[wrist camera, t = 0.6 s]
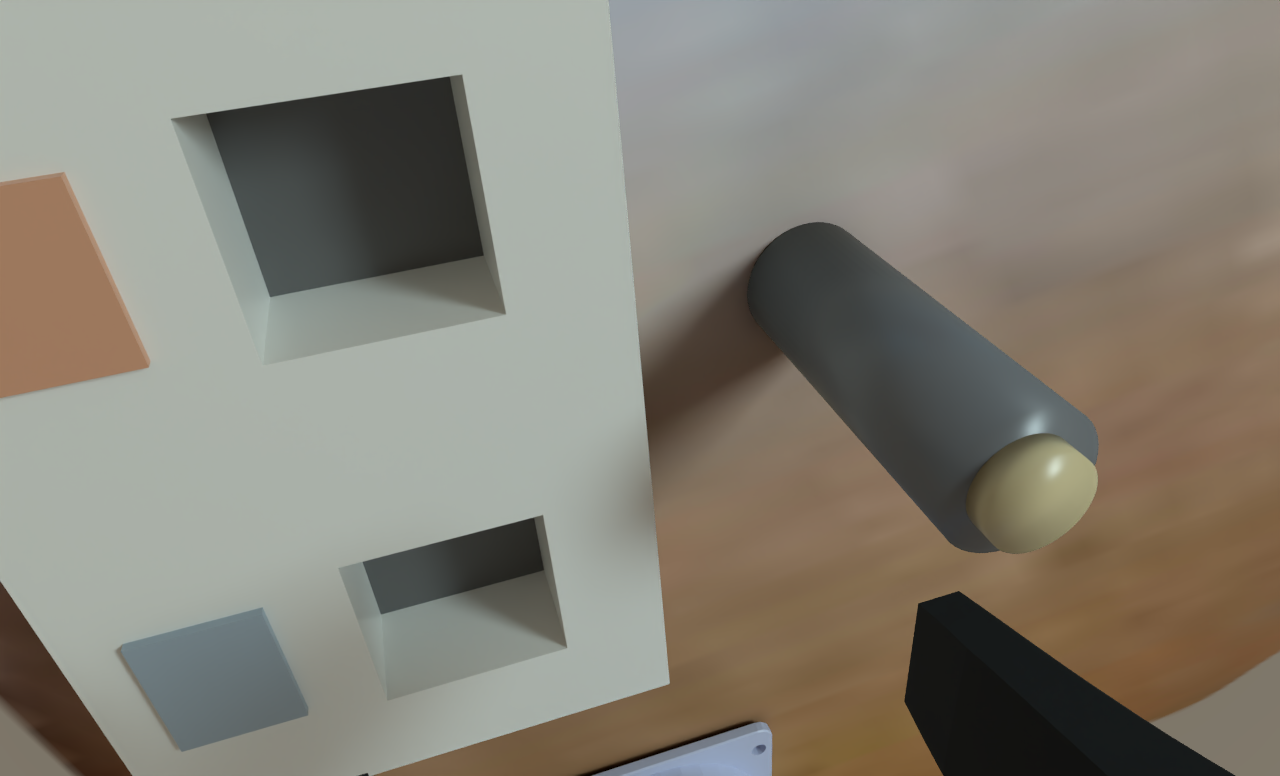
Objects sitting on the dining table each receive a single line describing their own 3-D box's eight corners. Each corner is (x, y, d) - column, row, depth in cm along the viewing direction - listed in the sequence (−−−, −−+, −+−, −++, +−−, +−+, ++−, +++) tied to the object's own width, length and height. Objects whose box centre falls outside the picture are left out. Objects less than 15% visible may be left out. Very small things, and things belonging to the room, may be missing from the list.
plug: (858, 323, 22) (1102, 549, 15) (747, 349, 22) (949, 596, 15) (866, 211, 21) (1144, 408, 14) (747, 235, 20) (973, 455, 13)
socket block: (635, 601, 25) (672, 689, 22) (189, 728, 23) (172, 844, 20) (552, -132, 15) (601, -123, 12) (-264, -44, 13) (-414, -11, 10)
